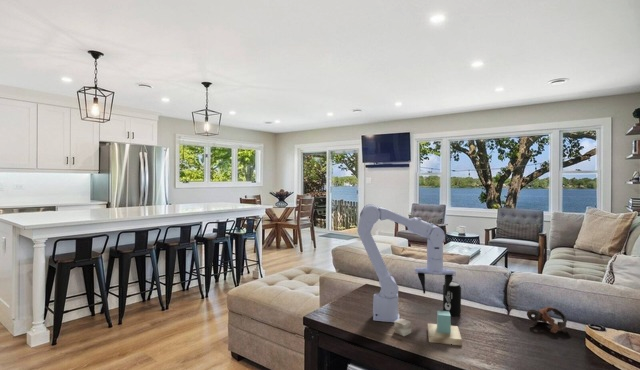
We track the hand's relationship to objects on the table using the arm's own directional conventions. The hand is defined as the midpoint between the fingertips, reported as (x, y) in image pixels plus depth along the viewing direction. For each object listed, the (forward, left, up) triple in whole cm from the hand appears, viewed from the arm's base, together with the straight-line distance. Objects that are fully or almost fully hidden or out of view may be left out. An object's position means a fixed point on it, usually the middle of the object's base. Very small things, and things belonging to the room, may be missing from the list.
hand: (434, 293), depth 130 cm
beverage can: (+7, +8, -10) cm, 15 cm away
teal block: (+2, -14, -8) cm, 16 cm away
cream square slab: (+2, -14, -10) cm, 17 cm away
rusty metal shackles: (+38, +3, -10) cm, 39 cm away
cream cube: (-11, -14, -10) cm, 21 cm away
